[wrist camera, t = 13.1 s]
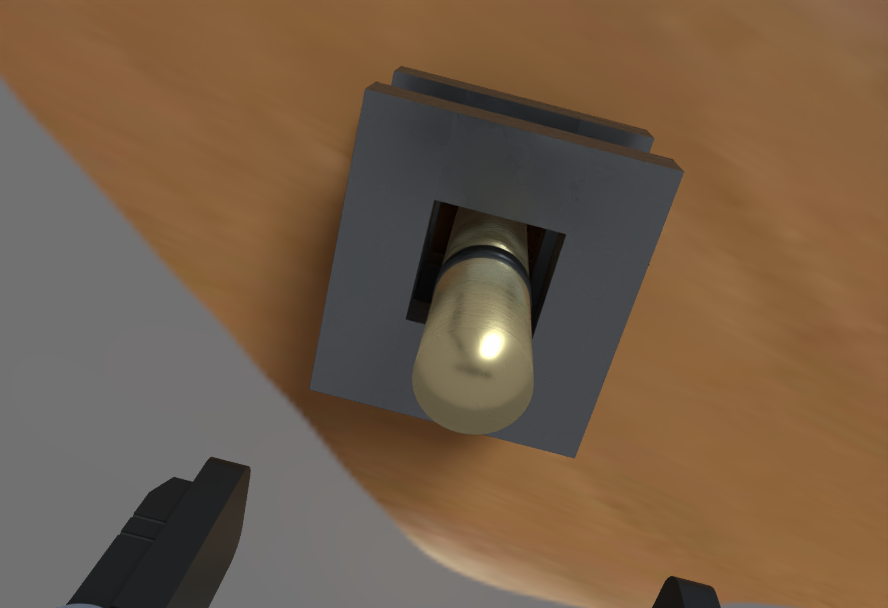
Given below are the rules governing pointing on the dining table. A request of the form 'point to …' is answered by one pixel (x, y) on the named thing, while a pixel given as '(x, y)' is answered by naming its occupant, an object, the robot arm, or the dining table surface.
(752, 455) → the dining table surface
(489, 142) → the collar stand
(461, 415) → the brass tube
